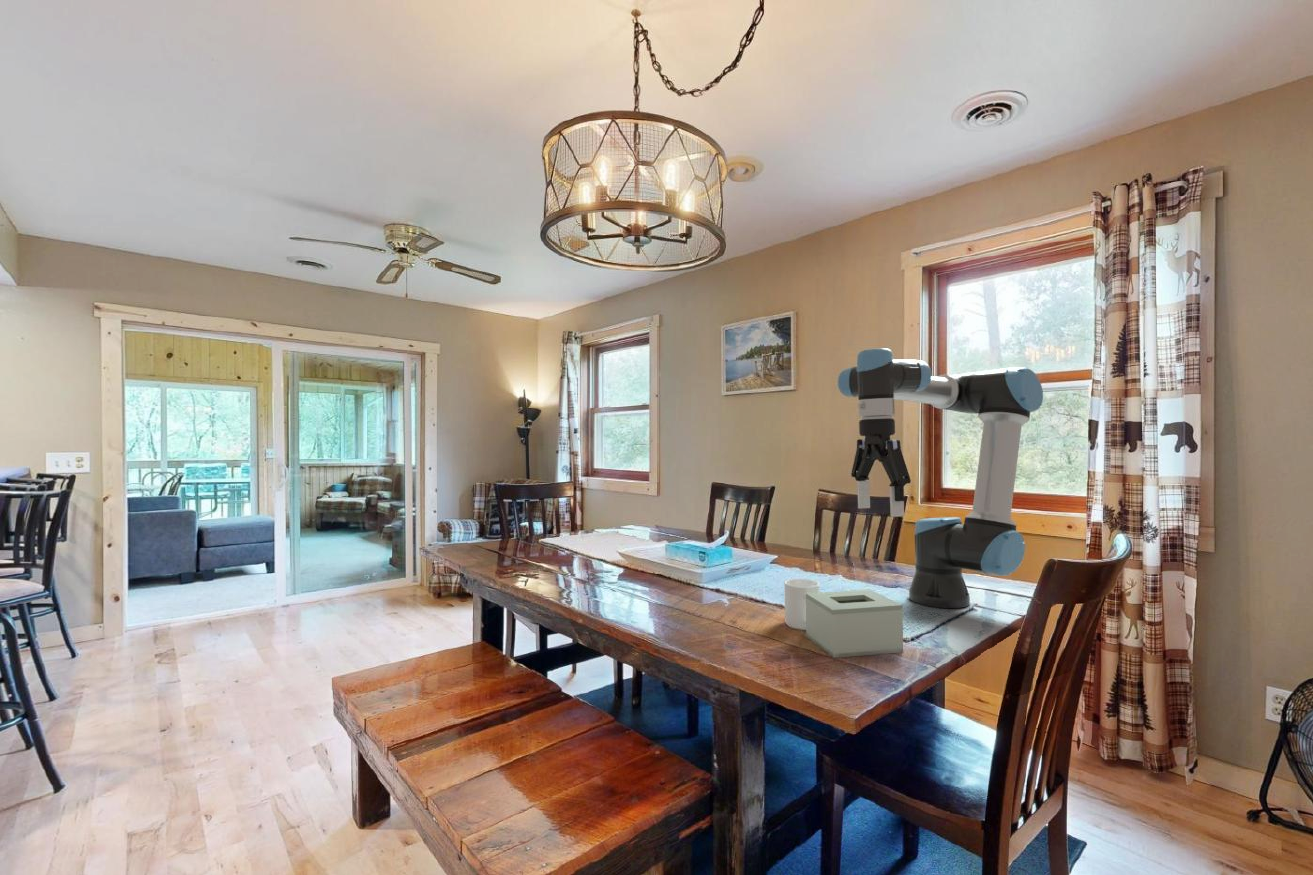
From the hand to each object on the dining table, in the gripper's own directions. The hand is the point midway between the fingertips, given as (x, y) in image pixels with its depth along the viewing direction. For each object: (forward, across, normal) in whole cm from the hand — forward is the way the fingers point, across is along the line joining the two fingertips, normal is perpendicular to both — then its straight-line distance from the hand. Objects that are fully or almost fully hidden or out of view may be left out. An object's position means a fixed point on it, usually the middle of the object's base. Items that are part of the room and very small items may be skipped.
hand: (879, 512), depth 128 cm
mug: (+29, -11, -14) cm, 34 cm away
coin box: (+29, +1, -8) cm, 30 cm away
